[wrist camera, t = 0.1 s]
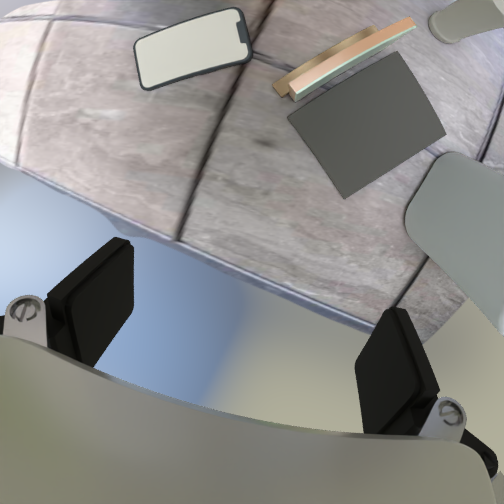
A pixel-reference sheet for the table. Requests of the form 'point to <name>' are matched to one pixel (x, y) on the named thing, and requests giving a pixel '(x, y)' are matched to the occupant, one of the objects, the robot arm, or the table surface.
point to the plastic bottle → (464, 228)
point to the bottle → (466, 19)
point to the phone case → (192, 48)
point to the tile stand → (321, 60)
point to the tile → (348, 58)
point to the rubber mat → (368, 124)
